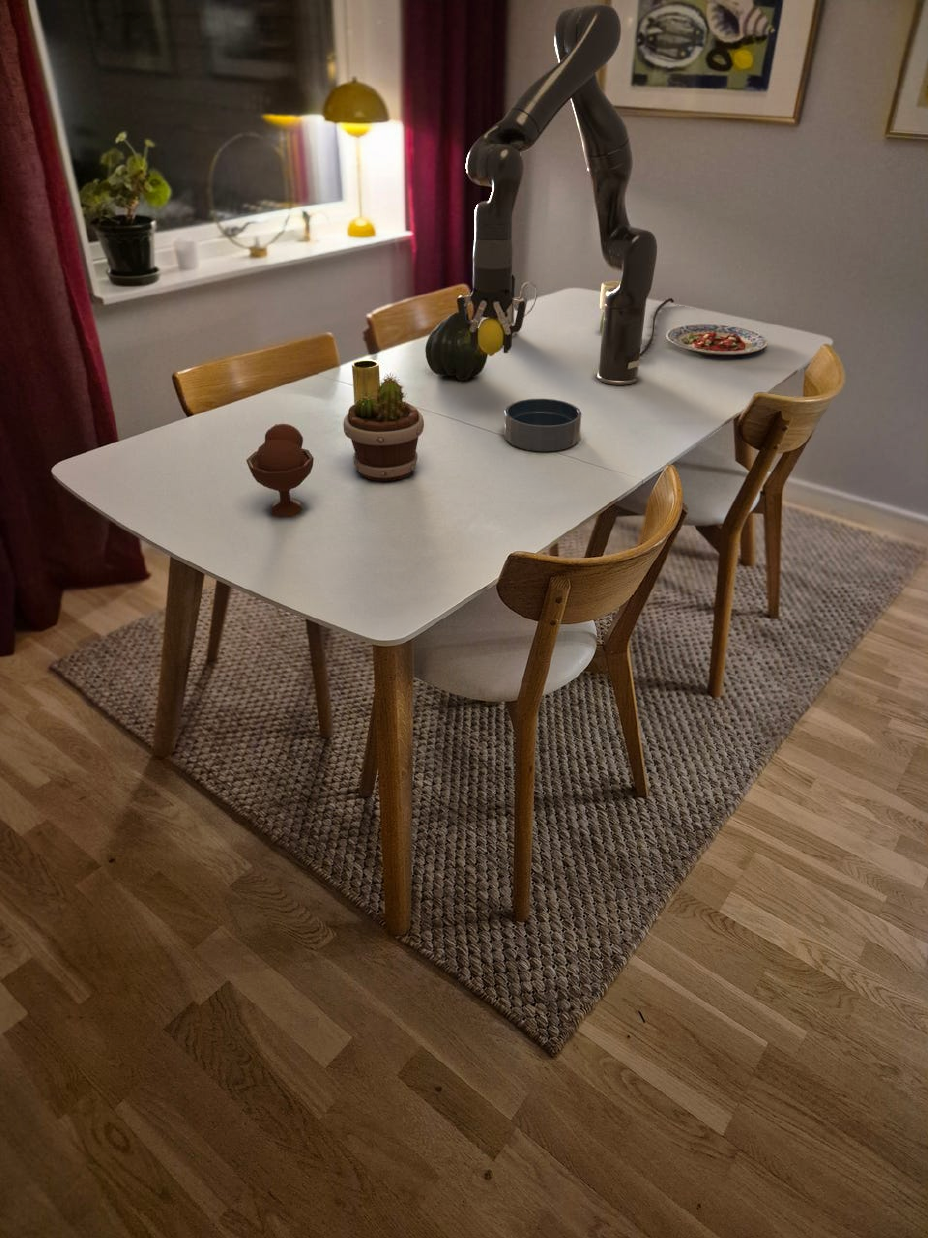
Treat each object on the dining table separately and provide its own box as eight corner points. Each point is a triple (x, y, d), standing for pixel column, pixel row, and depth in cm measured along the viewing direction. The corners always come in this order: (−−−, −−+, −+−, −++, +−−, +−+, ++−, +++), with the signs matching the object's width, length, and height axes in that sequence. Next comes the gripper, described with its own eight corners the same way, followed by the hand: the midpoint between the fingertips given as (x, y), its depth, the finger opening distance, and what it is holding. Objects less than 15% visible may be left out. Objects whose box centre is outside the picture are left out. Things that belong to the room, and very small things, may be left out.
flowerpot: (336, 462, 161) (326, 358, 150) (411, 450, 166) (407, 348, 155) (358, 494, 150) (350, 384, 139) (438, 479, 155) (436, 372, 144)
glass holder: (485, 328, 235) (486, 271, 226) (536, 330, 233) (539, 273, 225) (481, 337, 228) (482, 279, 219) (533, 339, 226) (536, 281, 218)
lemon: (502, 361, 168) (503, 320, 163) (475, 359, 169) (475, 318, 164) (506, 352, 172) (507, 312, 168) (480, 350, 173) (480, 311, 169)
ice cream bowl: (257, 496, 149) (245, 415, 141) (320, 494, 150) (312, 414, 142) (250, 525, 141) (236, 441, 132) (317, 522, 141) (308, 439, 133)
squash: (445, 368, 190) (477, 309, 189) (404, 355, 199) (435, 299, 199) (480, 398, 201) (511, 342, 200) (440, 384, 210) (469, 331, 210)
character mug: (613, 340, 226) (618, 290, 218) (589, 336, 229) (594, 286, 222) (630, 330, 233) (636, 281, 226) (607, 326, 236) (612, 278, 229)
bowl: (511, 420, 179) (512, 395, 176) (583, 427, 176) (585, 401, 173) (497, 449, 167) (498, 422, 164) (573, 456, 164) (576, 429, 161)
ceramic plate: (777, 341, 225) (780, 330, 223) (748, 368, 207) (751, 356, 205) (685, 326, 236) (687, 315, 235) (650, 350, 219) (652, 339, 217)
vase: (389, 428, 175) (385, 360, 167) (377, 439, 170) (372, 370, 162) (362, 425, 177) (357, 357, 169) (349, 435, 172) (344, 366, 164)
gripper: (533, 259, 162) (529, 347, 172) (460, 256, 165) (460, 342, 174) (526, 268, 156) (522, 359, 166) (451, 264, 159) (452, 353, 168)
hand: (490, 350), depth 170 cm, fingers closed on lemon, 5 cm apart
